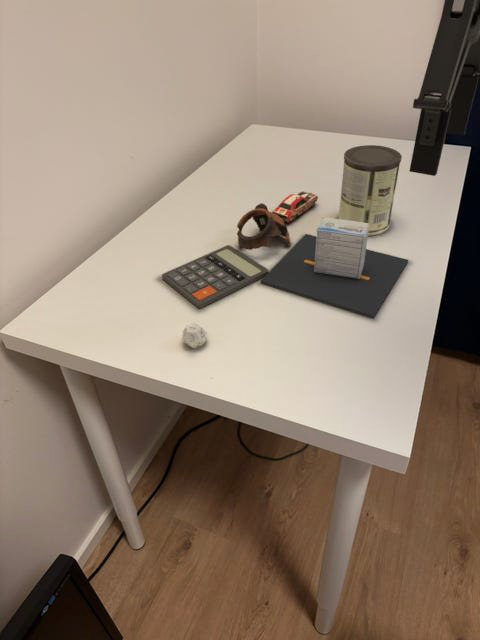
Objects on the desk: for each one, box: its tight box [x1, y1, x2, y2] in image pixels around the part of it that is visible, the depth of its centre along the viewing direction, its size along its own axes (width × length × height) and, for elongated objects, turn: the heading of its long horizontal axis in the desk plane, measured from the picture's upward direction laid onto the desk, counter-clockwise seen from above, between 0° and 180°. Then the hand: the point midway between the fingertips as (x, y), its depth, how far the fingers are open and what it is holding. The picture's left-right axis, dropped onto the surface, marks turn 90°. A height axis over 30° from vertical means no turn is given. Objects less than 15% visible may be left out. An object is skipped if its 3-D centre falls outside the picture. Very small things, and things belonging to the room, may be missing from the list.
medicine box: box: [314, 217, 369, 279], centre depth 81 cm, size 8×4×9 cm, turn 70°
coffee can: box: [338, 144, 403, 237], centre depth 93 cm, size 10×10×14 cm
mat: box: [260, 233, 409, 320], centre depth 84 cm, size 20×18×1 cm
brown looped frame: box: [236, 203, 292, 251], centre depth 92 cm, size 12×10×8 cm
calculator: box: [161, 244, 269, 309], centre depth 85 cm, size 12×1×15 cm
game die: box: [181, 322, 208, 349], centre depth 71 cm, size 4×4×3 cm
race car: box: [271, 191, 319, 224], centre depth 102 cm, size 5×12×5 cm, turn 137°
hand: (438, 151), depth 56 cm, fingers open, 13 cm apart
